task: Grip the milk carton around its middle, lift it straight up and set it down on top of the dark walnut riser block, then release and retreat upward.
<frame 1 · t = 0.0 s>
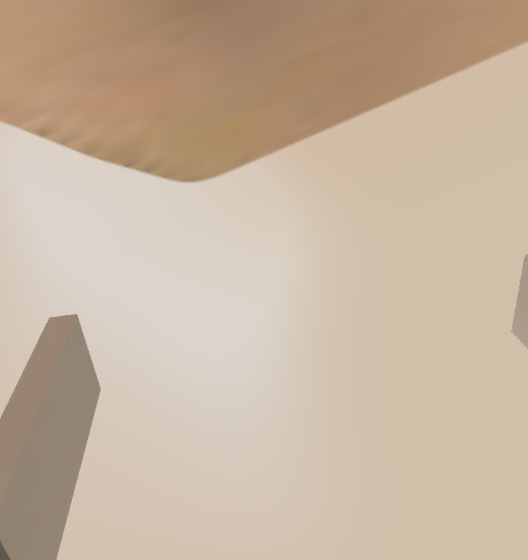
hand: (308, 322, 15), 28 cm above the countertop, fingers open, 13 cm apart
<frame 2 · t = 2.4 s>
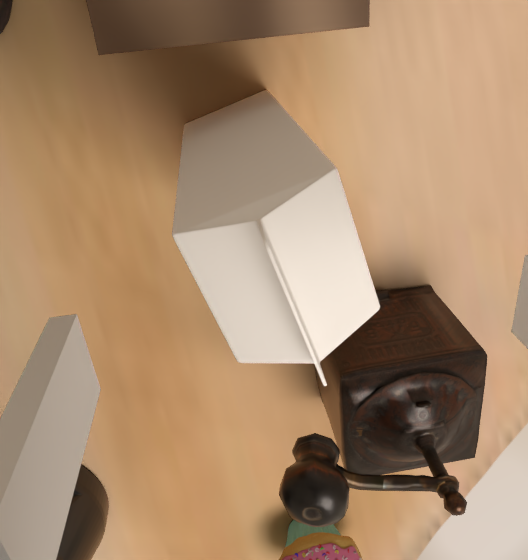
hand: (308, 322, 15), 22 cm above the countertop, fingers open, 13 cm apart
cupcake: (311, 524, 55), on the countertop
coffee grinder: (344, 345, 44), on the countertop
milk: (241, 147, 35), on the countertop
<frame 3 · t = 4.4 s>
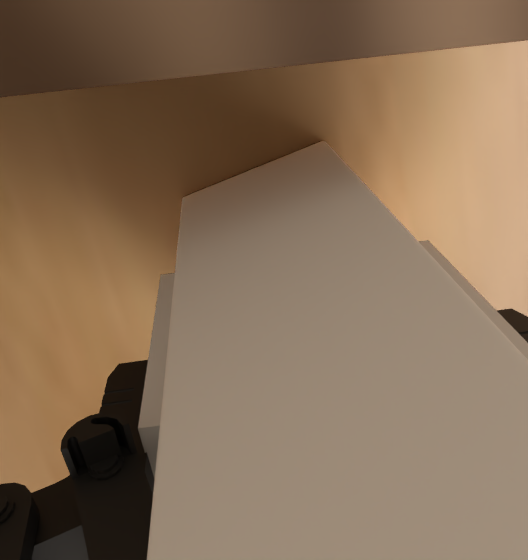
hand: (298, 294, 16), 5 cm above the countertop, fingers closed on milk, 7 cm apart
milk: (277, 231, 21), on the countertop, touching gripper
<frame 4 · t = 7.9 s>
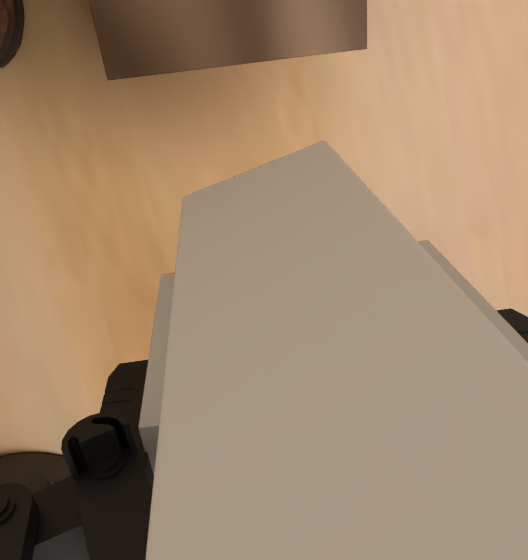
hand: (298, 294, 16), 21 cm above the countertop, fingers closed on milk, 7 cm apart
milk: (277, 231, 21), point 16 cm above the countertop, touching gripper
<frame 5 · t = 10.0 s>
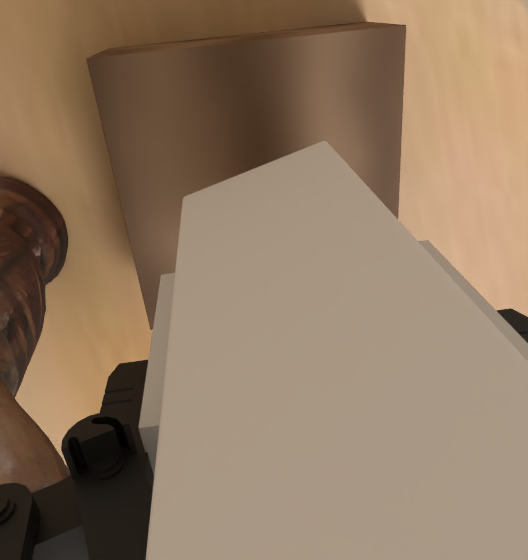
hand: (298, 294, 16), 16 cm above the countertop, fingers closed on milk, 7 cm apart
riser: (252, 163, 31), on the countertop
mortar and pestle: (36, 230, 31), on the countertop
milk: (278, 231, 21), point 11 cm above the countertop, touching gripper
when the fingers open (12 cm above the countertop, at t = 11.6 s): milk drops 1 cm, resting on riser.
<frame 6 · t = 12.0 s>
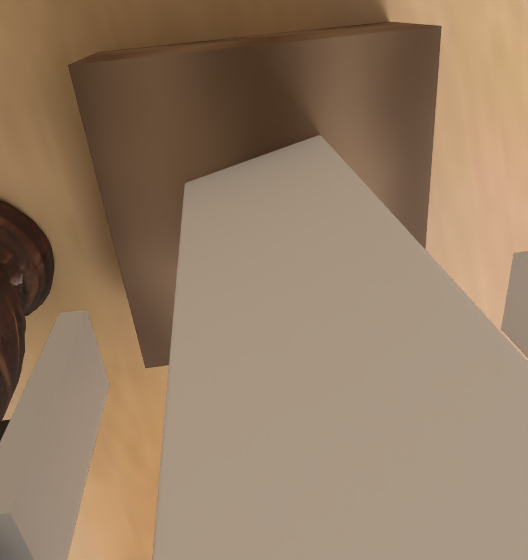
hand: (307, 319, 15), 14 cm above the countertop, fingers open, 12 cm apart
riser: (259, 179, 27), on the countertop
mortar and pestle: (18, 253, 28), on the countertop
milk: (272, 219, 22), point 6 cm above the countertop, touching riser
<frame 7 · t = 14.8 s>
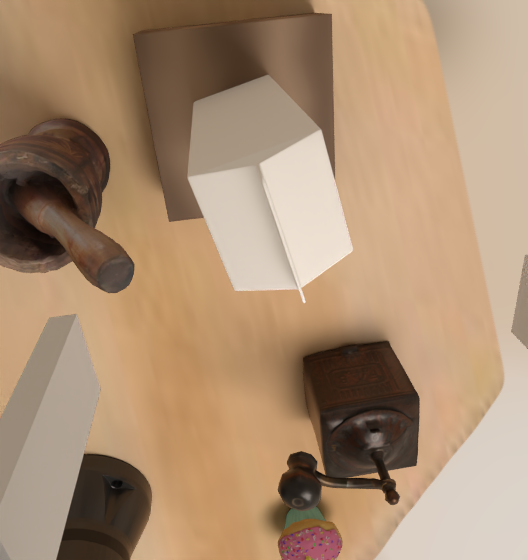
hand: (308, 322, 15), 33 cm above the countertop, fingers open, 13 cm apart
cupcake: (303, 513, 71), on the countertop
riser: (238, 111, 44), on the countertop
coffee grinder: (327, 382, 60), on the countertop
mortar and pestle: (88, 159, 45), on the countertop
milk: (243, 126, 39), point 6 cm above the countertop, touching riser
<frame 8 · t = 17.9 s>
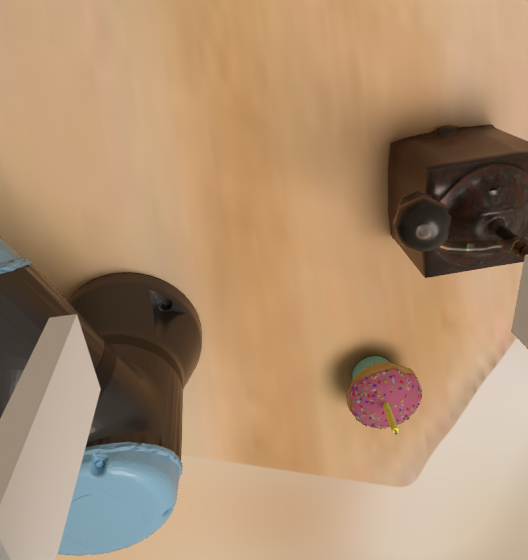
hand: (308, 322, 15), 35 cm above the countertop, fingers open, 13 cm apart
cupcake: (372, 369, 62), on the countertop
coffee grinder: (414, 184, 51), on the countertop
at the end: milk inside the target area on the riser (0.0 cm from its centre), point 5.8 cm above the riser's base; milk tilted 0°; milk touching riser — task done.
